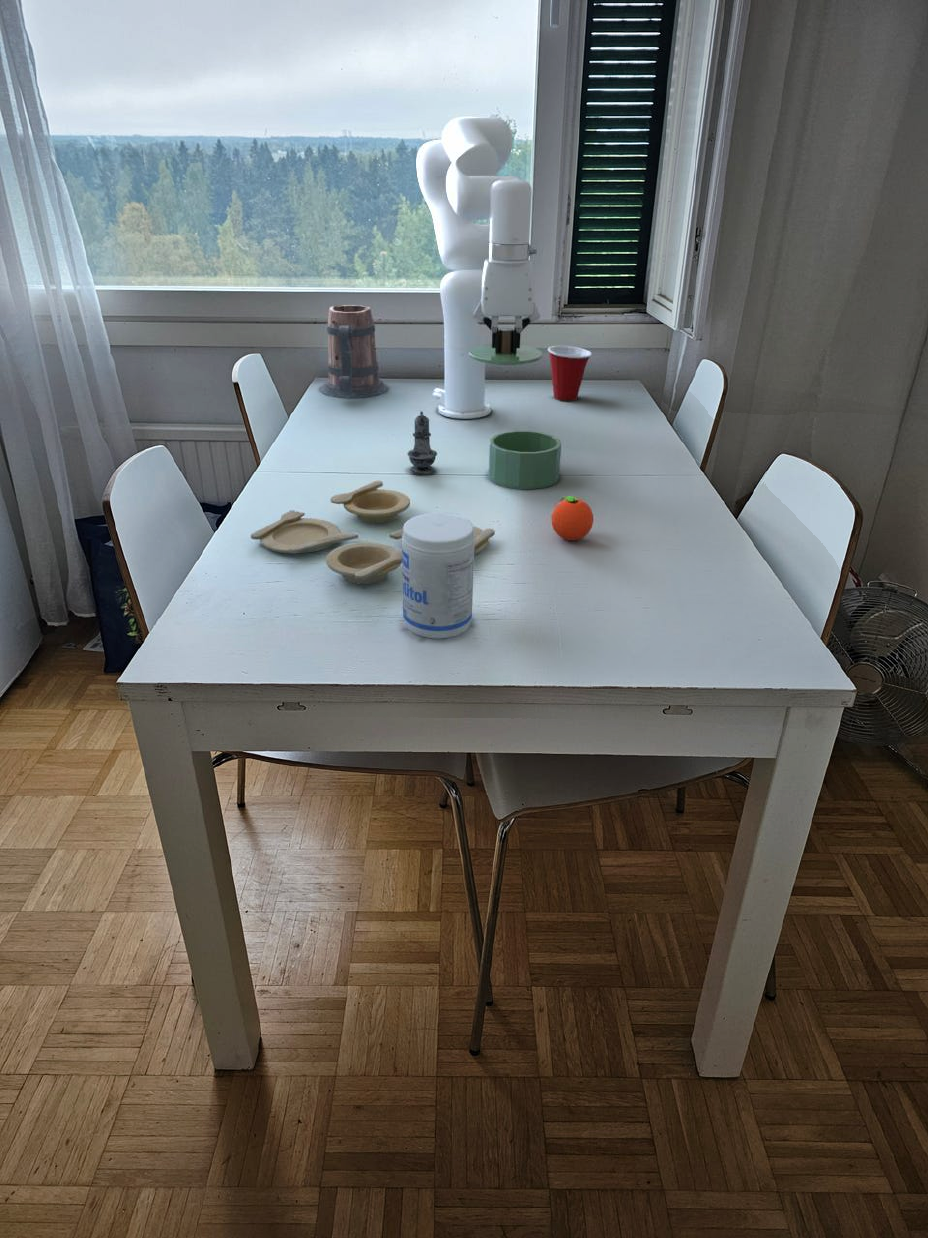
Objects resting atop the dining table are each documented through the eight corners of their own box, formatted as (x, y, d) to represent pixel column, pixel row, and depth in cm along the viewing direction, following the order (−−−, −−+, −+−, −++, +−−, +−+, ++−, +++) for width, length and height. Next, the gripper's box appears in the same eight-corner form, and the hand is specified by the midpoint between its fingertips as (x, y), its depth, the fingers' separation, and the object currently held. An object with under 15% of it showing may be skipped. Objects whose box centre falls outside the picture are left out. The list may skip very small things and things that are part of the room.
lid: (469, 367, 168) (469, 337, 165) (468, 349, 181) (468, 320, 178) (544, 368, 168) (546, 337, 165) (538, 350, 181) (540, 321, 178)
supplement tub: (389, 625, 120) (385, 527, 112) (434, 600, 126) (434, 505, 119) (441, 649, 114) (441, 548, 107) (486, 622, 121) (489, 524, 113)
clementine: (539, 531, 148) (542, 492, 144) (575, 525, 150) (578, 486, 146) (562, 550, 141) (565, 509, 138) (599, 543, 144) (603, 503, 140)
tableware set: (512, 547, 142) (513, 524, 140) (379, 611, 123) (378, 586, 121) (369, 491, 162) (368, 471, 160) (236, 538, 144) (233, 516, 142)
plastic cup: (590, 404, 214) (594, 354, 208) (546, 403, 214) (549, 354, 208) (585, 392, 223) (589, 344, 217) (543, 391, 223) (546, 343, 217)
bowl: (490, 489, 164) (491, 453, 161) (487, 464, 176) (488, 430, 172) (561, 489, 164) (564, 453, 161) (554, 464, 176) (557, 430, 173)
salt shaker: (439, 466, 175) (438, 407, 169) (435, 476, 170) (434, 416, 164) (410, 464, 175) (408, 406, 169) (405, 475, 170) (404, 414, 164)
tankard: (327, 379, 232) (321, 300, 222) (390, 380, 231) (387, 301, 221) (310, 404, 211) (303, 319, 201) (379, 405, 211) (376, 320, 201)
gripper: (550, 250, 168) (544, 347, 177) (465, 249, 168) (464, 347, 177) (553, 256, 161) (547, 356, 171) (466, 255, 161) (465, 356, 170)
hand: (505, 350), depth 174 cm, fingers closed on lid, 2 cm apart
